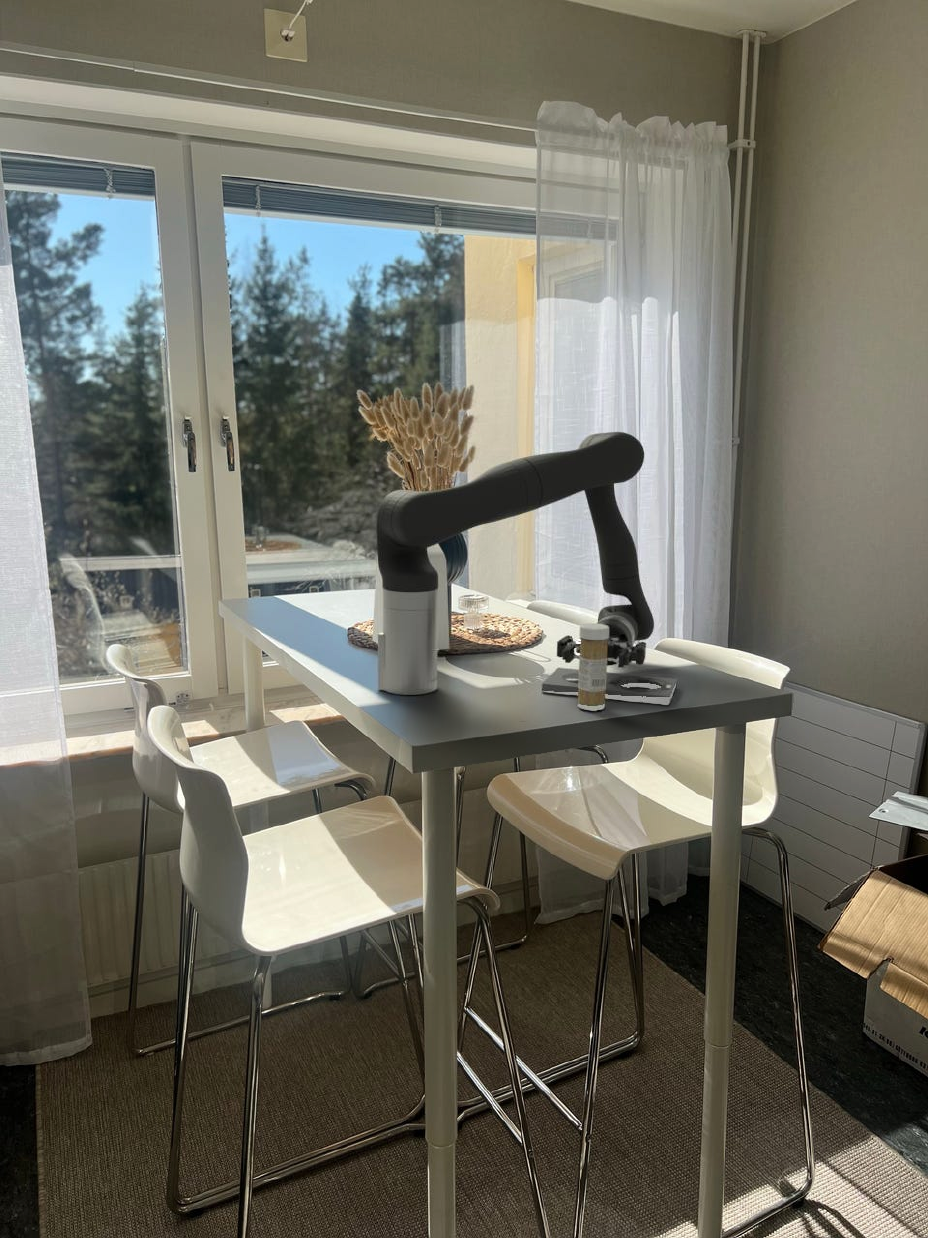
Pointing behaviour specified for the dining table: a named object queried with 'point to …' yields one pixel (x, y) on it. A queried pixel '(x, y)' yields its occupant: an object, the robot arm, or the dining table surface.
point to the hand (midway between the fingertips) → (594, 659)
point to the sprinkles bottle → (592, 664)
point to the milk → (440, 566)
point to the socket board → (609, 683)
